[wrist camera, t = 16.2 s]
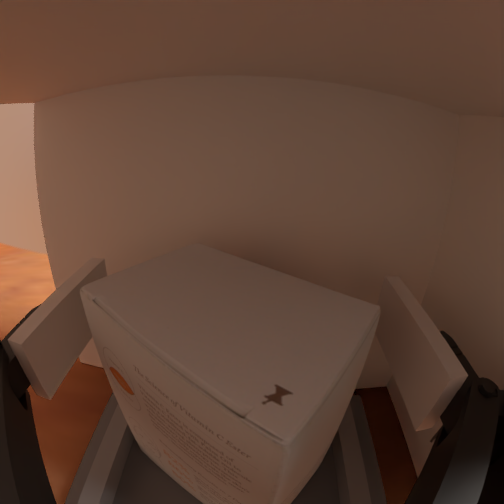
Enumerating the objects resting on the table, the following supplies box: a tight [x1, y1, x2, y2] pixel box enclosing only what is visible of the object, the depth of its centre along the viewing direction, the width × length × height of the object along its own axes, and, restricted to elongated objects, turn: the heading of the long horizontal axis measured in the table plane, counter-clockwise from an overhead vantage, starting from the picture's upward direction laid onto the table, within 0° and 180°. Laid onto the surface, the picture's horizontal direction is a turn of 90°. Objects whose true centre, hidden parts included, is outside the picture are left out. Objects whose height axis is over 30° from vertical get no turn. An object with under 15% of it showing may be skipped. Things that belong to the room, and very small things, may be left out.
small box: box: [80, 243, 380, 504], centre depth 10 cm, size 8×6×10 cm
